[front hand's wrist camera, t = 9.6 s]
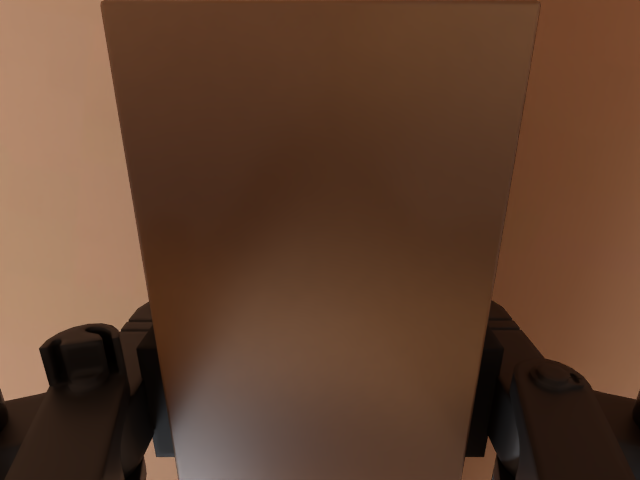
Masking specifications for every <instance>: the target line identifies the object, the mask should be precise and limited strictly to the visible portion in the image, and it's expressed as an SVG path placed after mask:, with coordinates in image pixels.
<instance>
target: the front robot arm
mask: <svg viewBox="0 0 640 480" xmlns="http://www.w3.org/2000/svg"><path fill="white" fill-rule="evenodd" d="M39 350H40V354H41V357H42V361H43V364H44V368H45V371H46V375H47V378H48V382H49V385H50V386H49V388H48V391H47V392H46V393H42V394H38V395H33V396H28V397H23V398H19V399H14V400H9V401H4V398H3V395H2V392H1V389H0V480H146V474H147V472H146V465H145V460H144V454H145V452H146V450H147V448H148V446H149V443H150V441H151V439H152V437H153V442H154V448H155V453H156V457H175V455H174V449H173V443H172V437H171V431H170V425H169V419H168V412H167V406H166V400H165V394H164V388H163V382H162V376H161V370H160V364H159V358H158V352H157V346H156V340H155V333H154V327H153V321H152V315H151V309H150V303H149V302H148V303H146V304H144V305H143V306H141V307H140V308H138V309H137V310H136V312H135V313H134V314H133V315H132V316H131V318H130V319H129V322H127V323H126V324H125V325H124V326H123V328H122V329H121V332H119V330H117V329H116V328H115V327H114V326H112V325H107V324H102V323H99V324H86V325H81V326H77V327H73V328H70V329H68V330H65V331H62V332H60V333H58V334H56V335H55V336H53V337H51V338H50V339H48V340H47V341H46V342H45V343H44V344H43V345H42V346H41V347H40V348H39ZM488 436H489V438H490V441H491V443H492V445H493V447H494V449H495V451H496V453H497V455H496V460H495V465H494V470H493V475H492V480H640V391H639V394H638V397H637V399H631V398H626V397H621V396H616V395H611V394H607V393H602V392H598V391H594V390H592V388H591V386H590V384H589V383H588V382H587V380H586V379H585V378H584V377H583V376H582V375H581V374H579V373H578V372H576V371H575V370H574V369H572V368H570V367H568V366H566V365H564V364H561V363H559V362H556V361H552V360H548V359H545V358H544V357H543V356H542V354H541V353H540V352H539V351H538V350H537V348H536V347H535V346H534V345H533V343H532V342H531V341H530V340H529V339H528V337H527V336H526V335H525V334H524V333H523V331H522V330H520V328H519V326H518V325H517V324H516V323H515V322H514V321H512V318H511V317H510V315H509V314H508V313H507V312H506V311H505V309H504V308H503V307H502V306H500V305H498V304H497V303H495V302H494V301H492V300H491V305H490V311H489V317H488V323H487V329H486V335H485V341H484V347H483V353H482V359H481V365H480V371H479V376H478V382H477V388H476V394H475V400H474V406H473V412H472V418H471V424H470V430H469V436H468V442H467V448H466V454H465V457H484V455H485V449H486V444H487V439H488Z"/></svg>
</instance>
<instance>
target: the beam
mask: <svg viewBox="0 0 640 480" xmlns="http://www.w3.org/2000/svg"><path fill="white" fill-rule="evenodd" d="M540 7H541V5H540V2H539V1H537V0H104V1H102V2H101V12H102V18H103V24H104V30H105V36H106V42H107V48H108V54H109V60H110V66H111V72H112V78H113V84H114V91H115V97H116V103H117V109H118V115H119V121H120V127H121V133H122V139H123V145H124V151H125V157H126V163H127V170H128V176H129V182H130V188H131V194H132V200H133V206H134V212H135V218H136V224H137V230H138V236H139V242H140V248H141V255H142V261H143V267H144V273H145V279H146V285H147V291H148V297H149V303H150V309H151V315H152V321H153V327H154V333H155V340H156V346H157V352H158V358H159V364H160V370H161V376H162V382H163V388H164V394H165V400H166V406H167V412H168V419H169V425H170V431H171V437H172V443H173V449H174V455H175V461H176V467H177V473H178V479H179V480H461V478H462V472H463V466H464V460H465V454H466V448H467V442H468V436H469V430H470V424H471V418H472V412H473V406H474V400H475V394H476V388H477V382H478V376H479V371H480V365H481V359H482V353H483V347H484V341H485V335H486V329H487V323H488V317H489V311H490V305H491V299H492V293H493V287H494V281H495V275H496V269H497V263H498V257H499V251H500V245H501V239H502V233H503V227H504V221H505V215H506V209H507V203H508V197H509V191H510V186H511V180H512V174H513V168H514V162H515V156H516V150H517V144H518V138H519V132H520V126H521V120H522V114H523V108H524V102H525V96H526V90H527V84H528V78H529V72H530V66H531V60H532V54H533V48H534V42H535V36H536V30H537V24H538V18H539V12H540Z"/></svg>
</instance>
